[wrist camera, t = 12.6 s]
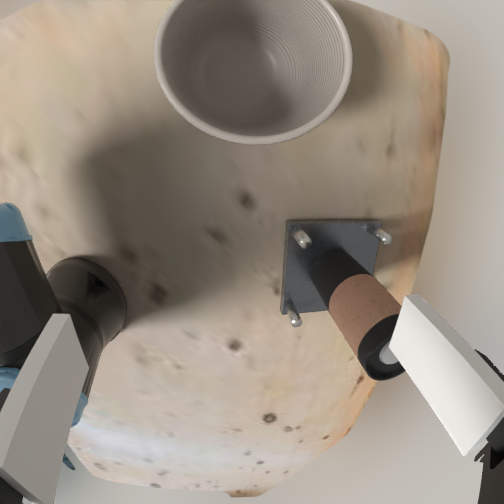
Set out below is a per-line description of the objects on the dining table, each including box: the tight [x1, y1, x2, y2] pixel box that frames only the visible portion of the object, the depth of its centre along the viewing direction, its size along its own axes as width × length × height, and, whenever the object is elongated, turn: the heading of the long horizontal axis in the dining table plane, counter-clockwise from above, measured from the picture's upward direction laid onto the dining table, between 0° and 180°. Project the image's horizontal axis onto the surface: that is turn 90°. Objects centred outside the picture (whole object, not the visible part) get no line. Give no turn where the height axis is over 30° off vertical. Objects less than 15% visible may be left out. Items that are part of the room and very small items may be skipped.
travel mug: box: [311, 249, 406, 381], centre depth 37 cm, size 8×8×20 cm
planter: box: [154, 0, 353, 145], centre depth 28 cm, size 17×17×15 cm
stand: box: [280, 220, 392, 327], centre depth 45 cm, size 15×15×6 cm
